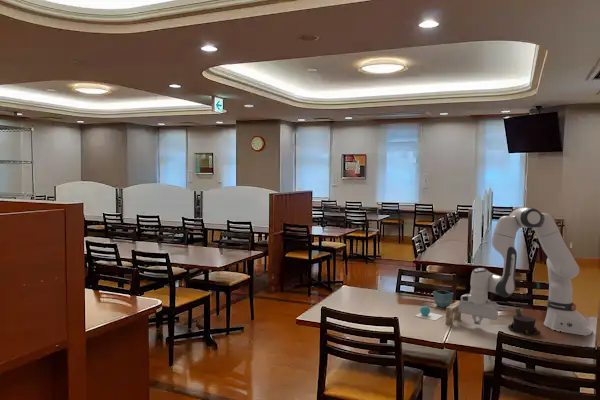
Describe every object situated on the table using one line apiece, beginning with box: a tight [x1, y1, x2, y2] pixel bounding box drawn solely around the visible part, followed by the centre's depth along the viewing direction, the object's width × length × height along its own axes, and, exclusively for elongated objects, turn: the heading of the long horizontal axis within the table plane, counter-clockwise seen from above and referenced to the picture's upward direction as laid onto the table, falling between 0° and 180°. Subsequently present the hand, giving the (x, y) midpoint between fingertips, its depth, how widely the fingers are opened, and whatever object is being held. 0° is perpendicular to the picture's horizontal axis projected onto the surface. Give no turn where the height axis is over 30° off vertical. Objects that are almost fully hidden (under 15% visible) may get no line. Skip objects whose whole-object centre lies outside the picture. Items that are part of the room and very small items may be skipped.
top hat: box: [507, 308, 540, 336], centre depth 243 cm, size 15×15×10 cm
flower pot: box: [432, 289, 454, 309], centre depth 283 cm, size 9×9×9 cm
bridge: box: [445, 301, 462, 326], centre depth 255 cm, size 3×14×9 cm, turn 141°
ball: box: [419, 305, 431, 316], centre depth 265 cm, size 6×6×6 cm
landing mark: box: [414, 312, 444, 322], centre depth 264 cm, size 12×12×1 cm
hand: (477, 324), depth 247 cm, fingers closed
